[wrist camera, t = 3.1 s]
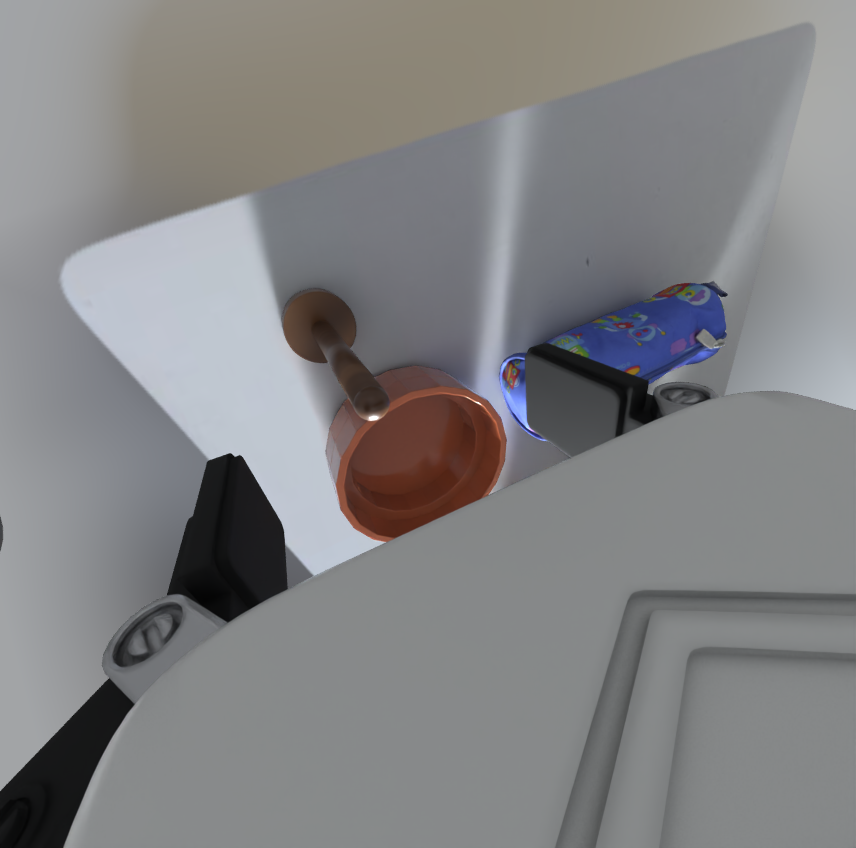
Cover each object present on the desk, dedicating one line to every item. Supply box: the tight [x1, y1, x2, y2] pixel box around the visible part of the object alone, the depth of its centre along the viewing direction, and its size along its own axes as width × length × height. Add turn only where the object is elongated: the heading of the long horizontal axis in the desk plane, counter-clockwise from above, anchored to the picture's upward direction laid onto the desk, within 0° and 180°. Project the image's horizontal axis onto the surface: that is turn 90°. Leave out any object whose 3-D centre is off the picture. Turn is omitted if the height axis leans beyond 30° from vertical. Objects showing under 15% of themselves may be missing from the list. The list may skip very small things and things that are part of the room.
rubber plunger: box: [282, 288, 390, 421], centre depth 20 cm, size 5×5×16 cm
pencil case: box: [499, 281, 728, 441], centre depth 34 cm, size 22×9×10 cm, turn 105°
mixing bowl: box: [325, 366, 507, 542], centre depth 32 cm, size 15×15×6 cm
